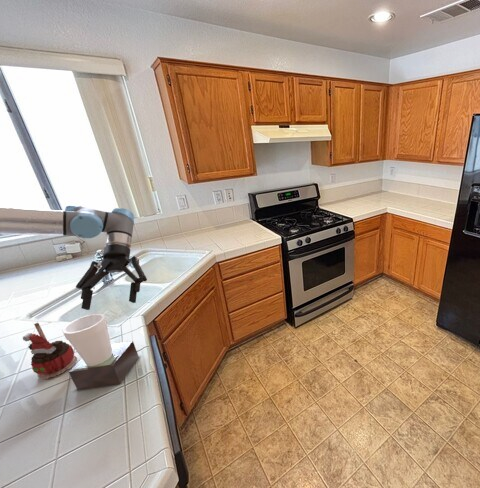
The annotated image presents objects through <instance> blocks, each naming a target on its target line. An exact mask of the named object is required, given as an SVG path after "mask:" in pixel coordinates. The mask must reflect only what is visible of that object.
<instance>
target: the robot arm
mask: <svg viewBox="0 0 480 488" xmlns="http://www.w3.org/2000/svg"><path fill="white" fill-rule="evenodd" d="M134 226H135V215H134V212H132V211H131V210H129V209H127V208H124V207H121V208H119V207H115V208H112V209H111V210H110V212H109V211H104V210H98V209H94V208H90V207H85V206H82V205H74V204H67V205H66V206H65V207H64V210H55V209H53V210H52V209H40V208H39V209H38V208H23V207H9V206H7V207H6V206H0V235H3V236H5V235H6V236H7V235H9V236H65V237H66V236H67V237H77V238H82V239H93V238H96V237H97V236H99V235H100V234H101V233H106V235H105V241H104V247H103V253H102V260H101V261H95V260H93V261H91V263H90V265H89V268H88V269H87V270H86V272H85V273H84V274H83V276H82V277H81V278H80V279H79V281H78V282H77V284H76V285H75V288H76V289H78V290H81V294H80V300H82V302H81V308H80V309H82V310H86V311H89V310H90V309H91V305H92V300H93V294H94V290H92V289H93V288H94V287H95V286H96V285H97V284H98V283H99V282H100V281H101V280H102V279H103V278H105V277H106V276H108V275H109V274H115V273H121V272H124V273H125V274H126V275H127V277H129V278H130V279H131V280H132V281H131V282H130V288H129V297H128V302H130V303H132V304H135V303H136V304H137V296H138V295H137V293H140V291H141V284H142V283H143V282H147V281H148V278H147V276H146V275H145V272H144V270H143V268H142V267H141V265H140V260H139V258H138V257H136V256H135V255H134V256H132V257H131V256H130V255H131V248H132V238H133V232H134ZM130 257H131V258H130ZM130 264H131V265H132V266H133V268H134V270H135V272H136V274H137V275H138V276H137V275H135V274H134V273H133V272H132V271H131V270H130V268H129V267H128V265H130Z"/></svg>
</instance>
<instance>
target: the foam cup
mask: <svg viewBox="0 0 480 488" xmlns="http://www.w3.org/2000/svg"><path fill="white" fill-rule="evenodd" d="M61 331H62V333H63V335H64V338H65V339H66V341H68V342H69V344H70V345H71V346H72V348H73V350H75V351H76V353H77V354H78V355H79V357H80V358H81V359H83V361H84V362H85V363H86V364H87V366H95V365H98V364H101V363H103V362H105V361H106V360H108V359H109V358H110V357H111V356H112V348H111V344H112V343H111V339H110V332H109V328H108V320H107V318H106V316H105V315H104V314H103V313H91V314H87V315H85V316H81V317H78V318H76V319H74V320H72V321H70V322H69V323H68V324H66V325H65V326H64V327H63V329H62V330H61Z"/></svg>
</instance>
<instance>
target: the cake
mask: <svg viewBox="0 0 480 488" xmlns="http://www.w3.org/2000/svg"><path fill="white" fill-rule="evenodd" d="M33 324H34V327H35V329H36V332H37V333H38V334H36V333H33V332H29V333H26V334H25V335H24V336H22V340H23V341H24V342H29V341H30V342H31V343H29V346H28V349H29V350H30V353H31V355H32V356H31V359H30V360H31V362H30V365H31V367H32V368H31V369H32V371H33V373H35V374H37V375H36V377H37V378H39V380H44V379H49V378H53V377H56V376H59V375H60V374H63V373H64V372H65V371H68V370H71V369H72V368H73V367H74V366H75V365H76V364H77V361H78V357H77V356H75V351H74V348H73V346H72V344H70V343H67V342H66V341H63V340H55V341H52V342H50V341H48V339H47V337H46V335H45V333H44V331H43V329H42V327H41V325H40V323H39V322H35V323H33Z"/></svg>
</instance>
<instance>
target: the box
mask: <svg viewBox="0 0 480 488" xmlns="http://www.w3.org/2000/svg"><path fill="white" fill-rule="evenodd" d="M111 348H112V356H111V357H110V358H109V359H108V360H106V361H105V362H103V363H101V364H98V365H95V366H87V364H86V363H85V362H84V361H83V359H82V358H81V359H80V360H79V361H78V362H76V364H74V365H73V366H72V367H71V368H70V369H69V371H68V374H69V376H70V378H71V380H72V382H73V385H74V386H75V389H76V391H81V390H87V389H94V388H101V387H106V386H107V387H108V386H114V385H121V384H122V382H123V381H124V380H125V378H126V377H127V375H128V374H129V372H130V371H131V369H132V368H133V367H134V366H135V364H136V363H137V361H138V360H139V358H140V356H139V353H138V350H137V349H136V345H135V343H134V341H133V340H131V341H123V342H116V343H111Z"/></svg>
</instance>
